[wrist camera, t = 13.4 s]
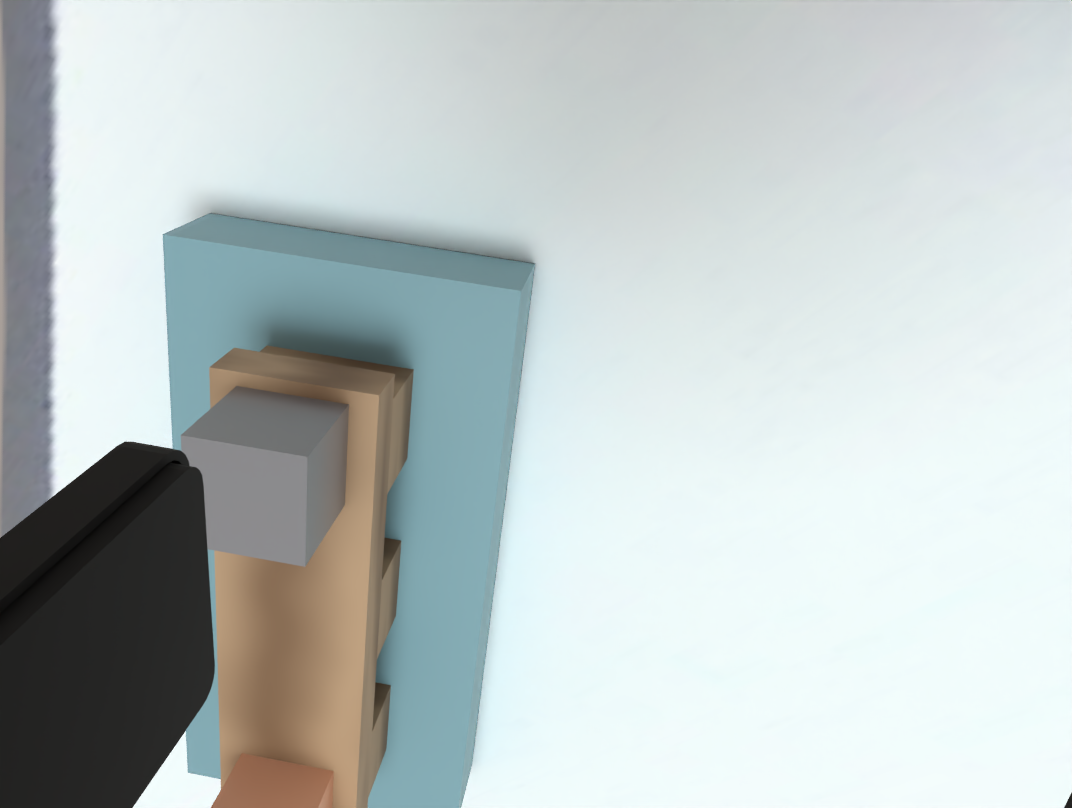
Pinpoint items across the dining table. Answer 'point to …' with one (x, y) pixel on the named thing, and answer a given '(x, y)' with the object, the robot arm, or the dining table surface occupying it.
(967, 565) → the dining table surface
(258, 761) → the pink cube
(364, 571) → the pallet
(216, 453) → the block
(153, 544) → the robot arm
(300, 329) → the block
